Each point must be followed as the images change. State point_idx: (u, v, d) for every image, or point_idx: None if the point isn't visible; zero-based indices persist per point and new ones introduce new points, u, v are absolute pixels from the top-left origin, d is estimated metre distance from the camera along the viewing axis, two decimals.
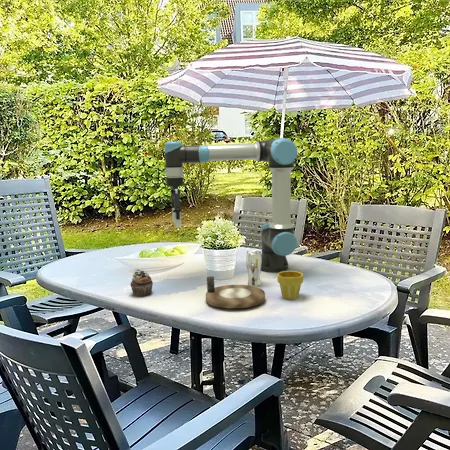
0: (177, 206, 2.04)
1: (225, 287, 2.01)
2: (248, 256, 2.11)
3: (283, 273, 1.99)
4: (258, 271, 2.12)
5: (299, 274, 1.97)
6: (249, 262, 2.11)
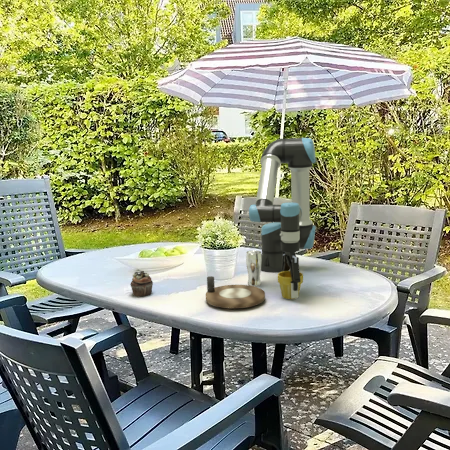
0: (296, 278, 1.86)
1: (225, 287, 2.01)
2: (248, 256, 2.11)
3: (283, 273, 1.99)
4: (258, 271, 2.12)
5: None
6: (249, 262, 2.11)
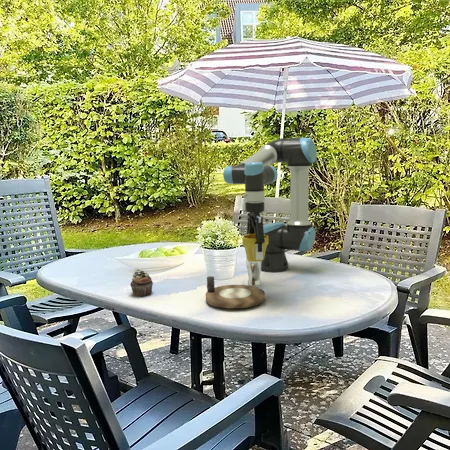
0: (260, 238, 1.81)
1: (225, 287, 2.01)
2: None
3: (248, 236, 1.94)
4: (258, 271, 2.12)
5: (265, 236, 1.92)
6: (249, 262, 2.11)
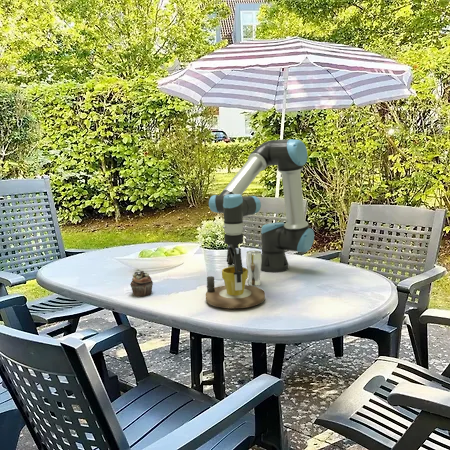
0: (238, 269, 1.81)
1: (225, 287, 2.01)
2: (248, 256, 2.11)
3: (228, 269, 1.95)
4: (258, 271, 2.12)
5: (244, 270, 1.93)
6: (249, 262, 2.11)
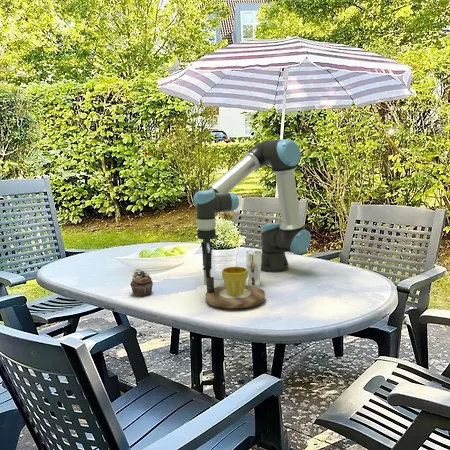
0: (207, 266, 1.93)
1: (224, 287, 2.01)
2: (248, 256, 2.11)
3: (228, 269, 1.95)
4: (258, 271, 2.12)
5: (244, 270, 1.93)
6: (249, 262, 2.11)
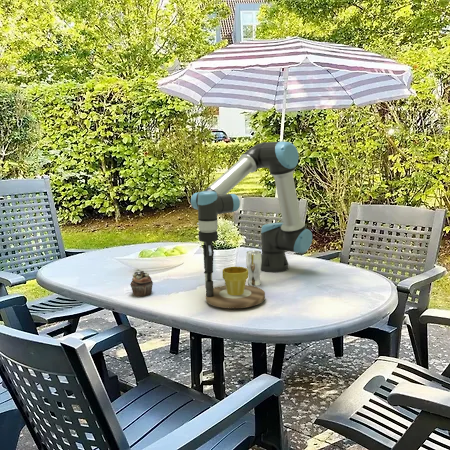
0: (209, 269, 1.87)
1: (216, 290, 1.98)
2: (248, 256, 2.11)
3: (225, 270, 1.93)
4: (258, 271, 2.12)
5: (240, 269, 1.95)
6: (249, 262, 2.11)
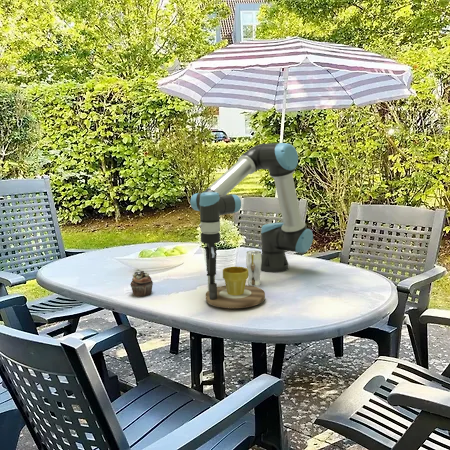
0: (212, 271, 1.83)
1: None
2: (248, 256, 2.11)
3: None
4: (258, 271, 2.12)
5: (237, 268, 1.96)
6: (249, 262, 2.11)
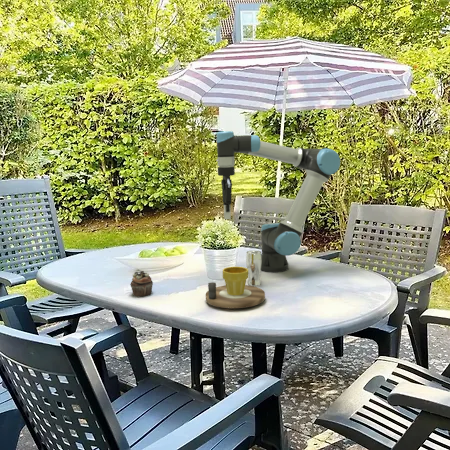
0: (228, 200, 2.11)
1: None
2: (248, 256, 2.11)
3: (224, 271, 1.92)
4: (258, 271, 2.12)
5: (237, 268, 1.95)
6: (249, 262, 2.11)
